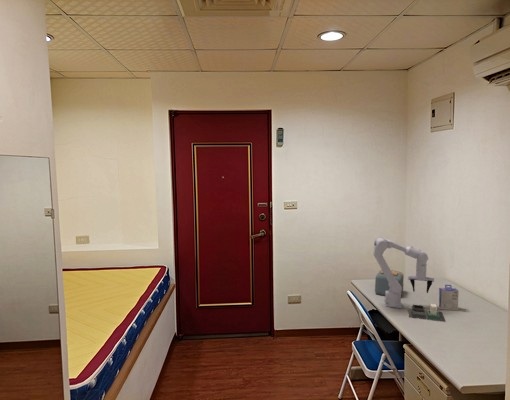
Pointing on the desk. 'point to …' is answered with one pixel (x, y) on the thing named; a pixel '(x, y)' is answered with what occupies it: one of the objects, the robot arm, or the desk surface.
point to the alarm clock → (386, 282)
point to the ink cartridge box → (448, 298)
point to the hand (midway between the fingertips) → (420, 291)
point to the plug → (433, 309)
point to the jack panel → (424, 313)
